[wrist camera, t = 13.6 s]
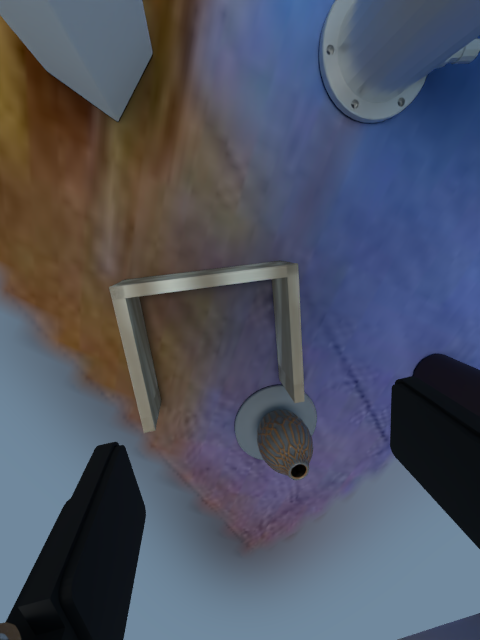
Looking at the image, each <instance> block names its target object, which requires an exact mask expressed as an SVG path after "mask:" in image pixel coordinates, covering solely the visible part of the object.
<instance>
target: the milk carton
mask: <svg viewBox="0 0 480 640" xmlns="http://www.w3.org/2000/svg"><path fill="white" fill-rule="evenodd" d="M0 15H1V16H2V18H3V19H4V20H5V21H6V23H7V24H8V25H9V26H10V27H11V29H12V30H13V31H14V32H15V33H16V35H17V36H18V37H19V38H20V39H21V41H22V42H23V43H24V44H25V45H26V47H27V48H28V49H29V50H30V52H31V53H32V54H33V55H34V56H35V58H36V59H37V60H38V61H39V62H40V64H41V65H42V66H43V67H44V68H45V70H46V71H48V72H49V73H50V74H52V75H53V76H54V77H56V78H57V79H58V80H60V81H61V82H63V83H64V84H65V85H67V86H68V87H70V88H71V89H72V90H74V91H75V92H77V93H78V94H79V95H81V96H82V97H83V98H85V99H86V100H88V101H89V102H90V103H92V104H93V105H95V106H96V107H97V108H99V109H100V110H102V111H103V112H104V113H106V114H107V115H109V116H110V117H111V118H113V119H114V120H116V121H119V119H120V117H121V115H122V113H123V111H124V109H125V107H126V105H127V103H128V101H129V99H130V97H131V95H132V93H133V92H134V90H135V88H136V86H137V84H138V82H139V80H140V78H141V76H142V74H143V72H144V70H145V68H146V66H147V64H148V62H149V60H150V58H151V56H152V54H153V52H152V47H151V42H150V37H149V32H148V27H147V22H146V17H145V13H144V8H143V3H142V0H0Z"/></svg>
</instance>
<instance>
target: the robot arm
mask: <svg viewBox="0 0 480 640" xmlns="http://www.w3.org/2000/svg"><path fill="white" fill-rule="evenodd" d="M478 36H480V0H336V1H335V2H334V4H333V5H332V7H331V9H330V11H329V13H328V15H327V17H326V19H325V22H324V26H323V29H322V32H321V38H320V44H319V63H320V70H321V75H322V79H323V82H324V86H325V88H326V90H327V92H328V94H329V96H330V98H331V99H332V101H333V102H334V103H335V105H336V106H337V107H338V108H339V109H340V110H341V111H342V112H343V113H344V114H345V115H347V116H349V117H351V118H352V119H354V120H357V121H360V122H365V123H376V122H382V121H385V120H387V119H389V118H392V117H393V116H395V115H396V114H398V113H399V112H401V111H402V110H404V109H405V108H406V107H407V106H408V105H409V104H410V103H411V102H412V101H413V100H414V99H415V97H416V96H417V95H418V93H419V92H420V90H421V88H422V86H423V85H424V82H425V80H426V77H427V75H428V74H429V73H430V72H431V71H433V70H434V69H435V68H441V67H444V66H445V65H446V64H447V63H451V64H469V63H470V62H472V61H473V60H474V59H475V58H476V56H477V55H478V53H479V51H480V39H479V38H477V37H478ZM390 447H391V450H392V453H393V454H394V456H395V457H396V458H397V459H398V460H399V461H400V463H401V464H402V465H403V466H404V467H405V468H406V469H407V470H408V471H409V472H410V473H411V475H412V476H413V477H414V478H415V479H416V480H417V481H418V482H419V483H420V484H421V485H422V487H423V488H424V489H425V490H426V491H427V492H428V493H429V494H430V495H431V496H432V498H433V499H434V500H435V501H436V502H437V503H438V504H439V505H440V506H441V507H442V508H443V510H445V511H446V513H447V514H448V515H449V516H450V517H451V518H452V519H453V520H454V522H455V523H456V524H457V525H458V526H459V527H460V528H461V529H462V530H463V531H464V533H465V534H466V535H467V536H468V537H469V538H470V539H471V540H472V541H473V542H474V543H475V545H476V546H477V547H478V548H479V549H480V417H479V416H478V415H476V414H474V413H473V412H471V411H470V410H468V409H466V408H465V407H463V406H462V405H460V404H458V403H457V402H455V401H454V400H452V399H450V398H449V397H447V396H446V395H444V394H442V393H441V392H439V391H438V390H436V389H434V388H433V387H431V386H430V385H428V384H426V383H425V382H423V381H422V380H420V379H418V378H417V377H414V376H411V377H407V378H402V379H398V380H396V382H395V385H393V386H392V398H391V434H390ZM145 517H146V510H145V505H144V502H143V499H142V496H141V493H140V490H139V487H138V484H137V481H136V478H135V475H134V472H133V469H132V466H131V463H130V460H129V457H128V454H127V451H126V448H125V446H124V445H121V446H119V444H118V443H117V442H112V443H108V444H103V445H99V446H97V447H96V448H95V450H94V452H93V454H92V456H91V458H90V460H89V462H88V464H87V466H86V468H85V471H84V472H83V475H82V477H81V479H80V481H79V483H78V485H77V487H76V489H75V491H74V493H73V495H72V497H71V499H69V500H68V501H67V502H66V504H65V505H64V507H63V509H62V511H61V513H60V515H59V517H58V519H57V521H56V523H55V525H54V527H53V529H52V531H51V533H50V535H49V537H48V539H47V541H46V543H45V545H44V547H43V549H42V551H41V553H40V555H39V557H38V559H37V561H36V563H35V565H34V567H33V569H32V571H31V573H30V575H29V577H28V579H27V581H26V583H25V585H24V587H23V589H22V591H21V593H20V595H19V597H18V599H17V601H16V603H15V605H14V607H13V609H12V611H11V613H10V615H9V617H8V619H7V621H6V622H5V623H0V640H123V638H124V632H125V627H126V621H127V616H128V610H129V605H130V600H131V594H132V588H133V583H134V578H135V573H136V567H137V562H138V556H139V550H140V545H141V540H142V535H143V529H144V523H145ZM398 640H480V613H479V614H476V615H473V616H469V617H466V618H463V619H460V620H457V621H454V622H451V623H447V624H444V625H441V626H438V627H435V628H432V629H429V630H426V631H423V632H420V633H417V634H414V635H411V636H407V637H404V638H402V639H398Z"/></svg>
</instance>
